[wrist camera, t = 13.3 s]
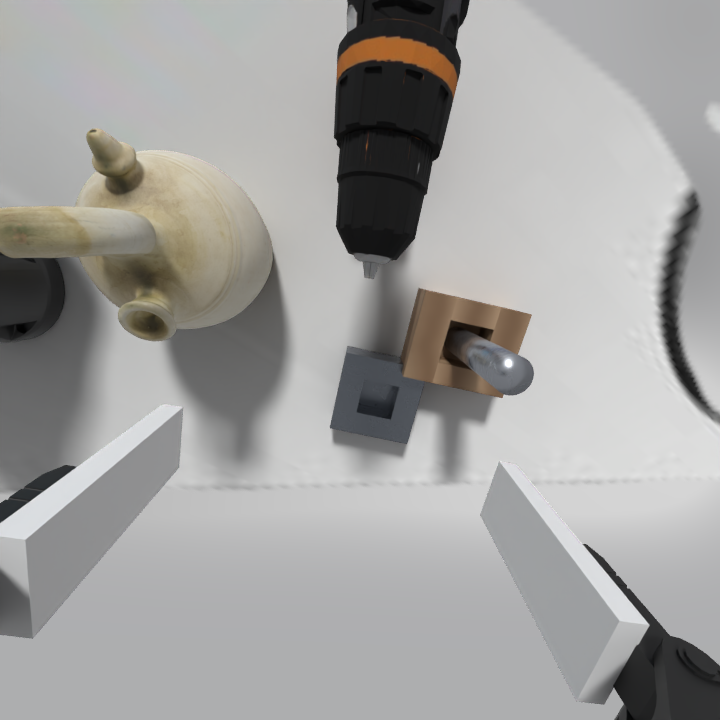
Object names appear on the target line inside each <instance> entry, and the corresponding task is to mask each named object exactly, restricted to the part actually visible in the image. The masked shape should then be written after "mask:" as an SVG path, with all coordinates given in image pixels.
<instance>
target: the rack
mask: <svg viewBox="0 0 720 720" xmlns="http://www.w3.org/2000/svg"><path fill="white" fill-rule="evenodd" d="M531 316H532V315H531V314H527V313H523V312H519V311H515V310H511V309H507V308H503V307H498V306H494V305H490V304H485V303H481V302H477V301H472V300H468V299H463V298H459V297H455V296H450V295H446V294H442V293H437V292H433V291H429V290H424V289H420V288H419V289H418V293H417V297H416V300H415V304H414V308H413V312H412V316H411V320H410V323H409V327H408V331H407V335H406V339H405V342H404V346H403V350H402V354H401V360H402V362H403V364H404V366H403V370H402V375H403V377H407V378H412V379H416V380H421V381H426V382H430V383H435V384H440V385H444V386H449V387H453V388H458V389H463V390H467V391H472V392H477V393H481V394H486V395H491V396H495V397H500V398H503V395H504V394H502V393H501V392H499V391H498V390H497V389H495V388H494V387H493V386H492V385H490V384H489V383H488V382H487V381H486V380H484V379H483V378H482V377H481V376H479V375H478V374H477V373H476V372H475V371H473V370H472V369H471V368H470V367H468V366H467V365H466V364H465V363H464V362H462V361H461V360H460V359H459V358H457V357H456V356H455V355H454V354H452V353H451V352H450V351H449V350H448V349H447V348H446V347H445V346H444V342H445V338H446V335H447V331H448V330H449V329H451V328H453V327H461V328H463V329H465V330H468V331H470V332H472V333H474V334H476V335H478V336H480V337H482V338H484V339H486V340H488V341H490V342H492V343H494V344H496V345H499V346H501V347H503V348H505V349H507V350H509V351H511V352H513V353H515V354H517V355H518V352H519V350H520V347H521V344H522V341H523V338H524V335H525V333H526V330H527V327H528V324H529V321H530V318H531Z"/></svg>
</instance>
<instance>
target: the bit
mask: <svg viewBox="0 0 720 720" xmlns="http://www.w3.org/2000/svg"><path fill="white" fill-rule="evenodd" d="M444 346H445V347H446V348H447V349H448V350H449V351H450V352H451V353H452V354H454V355H455V356H456V357H457V358H459V359H460V360H461V361H462V362H464V363H465V364H466V365H467V366H468V367H470V368H471V369H472V370H473V371H475V372H476V373H477V374H478V375H479V376H481V377H482V378H483V379H484V380H486V381H487V382H488V383H489V384H490V385H492V386H493V387H494V388H495V389H497V390H498V391H499V392H501V393H502V394H505V395H517V394H520V393H522V392H523V391H525V390H526V389H527V388H528V387H529V386H530V384H531V383H532V380H533V376H534V371H533V367H532V365H531V363H530V362H529V361H528V360H527V359H525V358H523V357H521V356H519V355H517V354H515V353H513V352H511V351H509V350H507V349H505V348H503V347H501V346H499V345H496V344H494V343H492V342H490V341H488V340H486V339H484V338H482V337H480V336H478V335H476V334H474V333H472V332H470V331H468V330H465V329H463V328H461V327H453V328H451V329H449V330H448V331H447V335H446V338H445V342H444Z"/></svg>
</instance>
